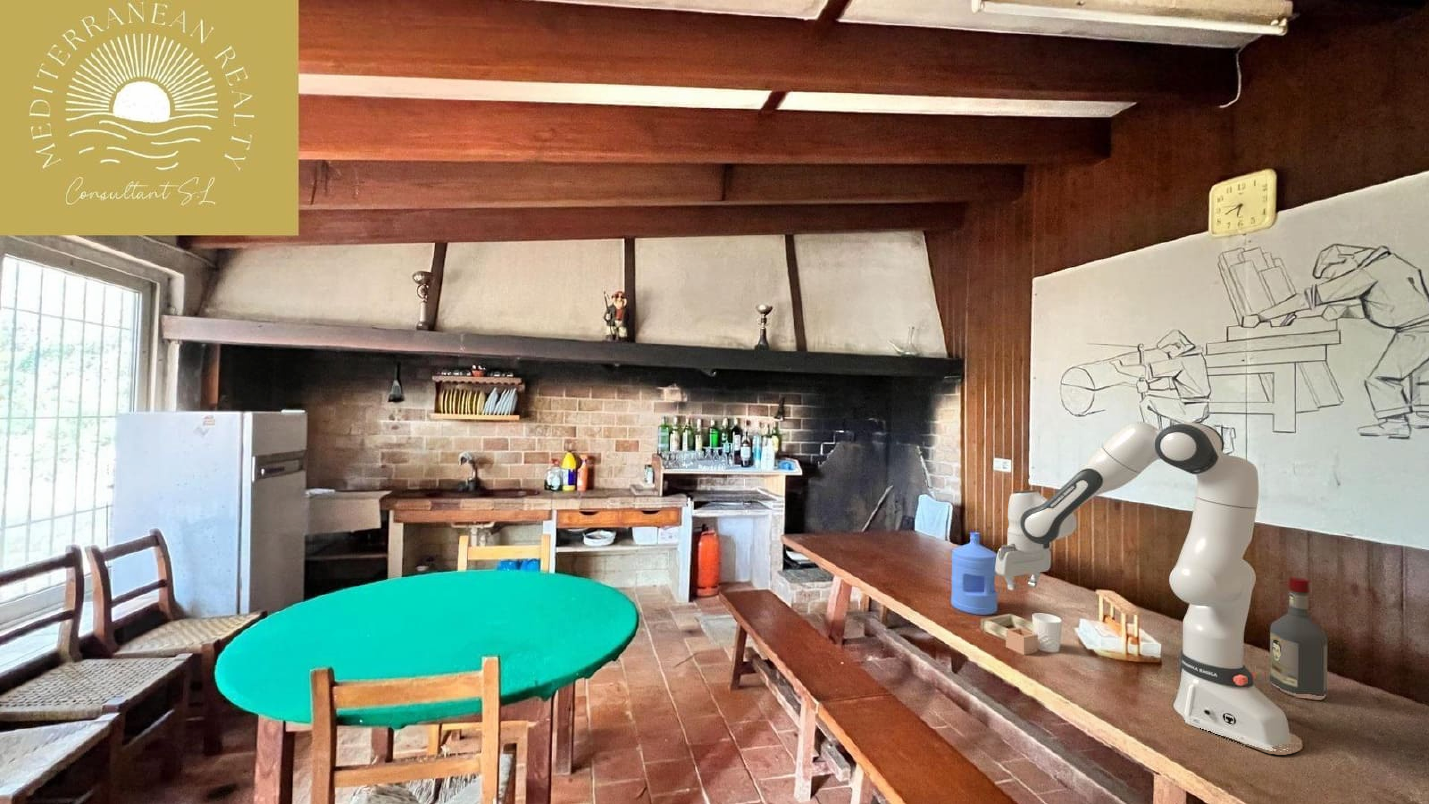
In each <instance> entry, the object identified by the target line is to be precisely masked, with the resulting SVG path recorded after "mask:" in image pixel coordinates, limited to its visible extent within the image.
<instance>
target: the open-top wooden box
mask: <svg viewBox="0 0 1429 804" xmlns="http://www.w3.org/2000/svg"><path fill="white" fill-rule="evenodd" d="M1005 648H1008V649H1010V650H1011V651H1013V652H1016V653H1018V654H1021V655H1023V656H1026V655H1030V654H1034V653H1038V650H1039V649H1038V634H1035V633H1033V632H1031V631H1028V630H1026V629H1023V628H1021V627H1018V628H1016V627H1014V628H1008V630H1006V640H1005Z"/></svg>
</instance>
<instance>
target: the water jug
mask: <svg viewBox="0 0 1429 804" xmlns="http://www.w3.org/2000/svg"><path fill="white" fill-rule="evenodd" d="M969 533H970V537H969V539H970V542H969V543H966V544H963V545H960V546H957V547H954V548H953V549H952V551H951V552H952V553H951V578H950V579H951V581H950V582H951V596H950V602H951V606H952V607H953V608H955V609H956V610H958V611H961V612H963V613H966V614H971V615H979V616H989V615H993V614H995V613H996V612H997V611H998V592H997V590H996V587H995V586H996V585H995V580H996V579H995V578H996V577H995V576H996V575H998V574H997V573H996V571H995V565H996V558H997V553H996V552H995V551H993V550H991V549H989V548H987V547H986V546H983V545H982V544H981V543H980V540H981V539H980V534H981V533H980V532H976V531H970V532H969Z"/></svg>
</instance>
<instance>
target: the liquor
mask: <svg viewBox="0 0 1429 804" xmlns="http://www.w3.org/2000/svg"><path fill="white" fill-rule="evenodd" d="M1309 584H1310V583H1309V580H1308V579H1304V578H1301V577H1292V576H1290V577H1288V590H1289V595H1288V599H1289V600H1288V602H1289V604H1288V609H1287V613H1286V614H1284V615H1282V616H1281V617H1279V618H1278V619H1276V620H1274V621H1272V622H1271V625H1270V630H1269V632H1270V633H1269V635H1270V636H1269V682H1270V681H1271V682H1272V683H1273V684H1275V685H1276V686H1279V687H1280V688H1281V689H1283V690H1286V691H1289V692H1292V693H1296V694H1311V695H1316V696H1324V695H1325V694H1327V695H1328V636H1327V634H1326V632H1325V631H1324V630H1322V628H1321V627H1319V625H1318V624H1317V623H1316V622H1315V621H1313V620H1312V618H1310V614H1309V609H1308V608H1309V597H1308V596H1309V595H1308V594H1309V592H1310V591H1309V589H1310V587H1309V586H1310V585H1309ZM1271 682H1270V683H1271Z"/></svg>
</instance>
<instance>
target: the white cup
mask: <svg viewBox="0 0 1429 804" xmlns="http://www.w3.org/2000/svg"><path fill="white" fill-rule="evenodd" d="M1031 617H1032V621H1031V622H1032V623H1033V633H1035V634H1038V650H1040V651H1043V652H1047V653H1059V651H1060V649H1061V648H1060V646H1061V638H1062V626H1063V625H1062V623H1063V620H1062V619H1061V618H1060V617H1058V616H1057V615H1054V614H1050V613H1043V612H1039V613H1037V612H1034V613H1032V614H1031Z"/></svg>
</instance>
